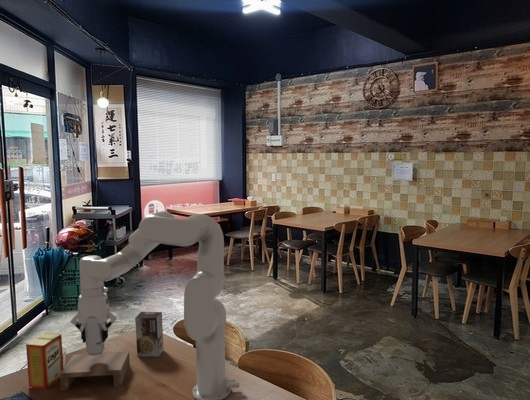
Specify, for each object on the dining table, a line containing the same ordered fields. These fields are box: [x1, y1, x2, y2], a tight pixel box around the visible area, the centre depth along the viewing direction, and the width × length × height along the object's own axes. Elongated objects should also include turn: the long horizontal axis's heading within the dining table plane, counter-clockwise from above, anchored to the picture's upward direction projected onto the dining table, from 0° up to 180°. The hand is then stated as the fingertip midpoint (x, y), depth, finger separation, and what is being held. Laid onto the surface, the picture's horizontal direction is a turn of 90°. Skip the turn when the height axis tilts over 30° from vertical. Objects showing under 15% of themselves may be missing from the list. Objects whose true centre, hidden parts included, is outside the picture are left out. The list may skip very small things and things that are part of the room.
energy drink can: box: [85, 316, 105, 356], centre depth 153 cm, size 6×6×15 cm
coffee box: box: [134, 311, 164, 358], centre depth 173 cm, size 9×6×16 cm
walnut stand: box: [59, 351, 131, 391], centre depth 154 cm, size 20×14×6 cm
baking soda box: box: [25, 332, 64, 390], centre depth 152 cm, size 10×6×16 cm
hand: (94, 340), depth 153 cm, fingers closed on energy drink can, 6 cm apart
